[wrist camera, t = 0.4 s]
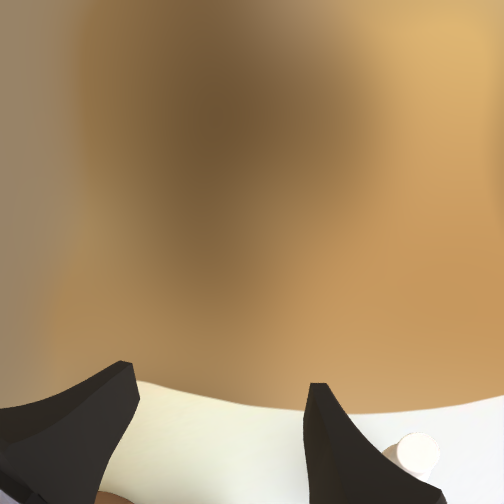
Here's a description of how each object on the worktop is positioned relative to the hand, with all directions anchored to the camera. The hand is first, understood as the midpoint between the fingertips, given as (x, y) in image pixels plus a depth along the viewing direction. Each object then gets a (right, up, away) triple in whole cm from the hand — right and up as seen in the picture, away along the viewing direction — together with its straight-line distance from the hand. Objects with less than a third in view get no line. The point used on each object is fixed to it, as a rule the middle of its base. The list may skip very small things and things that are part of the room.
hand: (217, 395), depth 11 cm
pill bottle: (+14, -18, +9) cm, 24 cm away
